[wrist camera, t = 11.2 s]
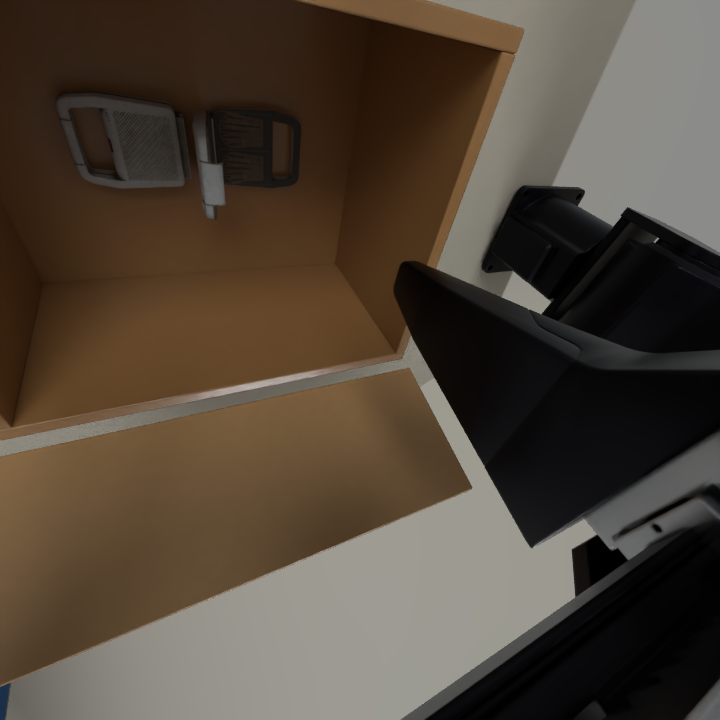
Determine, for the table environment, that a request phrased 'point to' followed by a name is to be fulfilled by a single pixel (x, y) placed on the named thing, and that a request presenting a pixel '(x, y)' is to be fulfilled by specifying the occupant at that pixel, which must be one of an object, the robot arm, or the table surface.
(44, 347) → the cardboard box
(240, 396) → the table surface
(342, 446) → the flap
